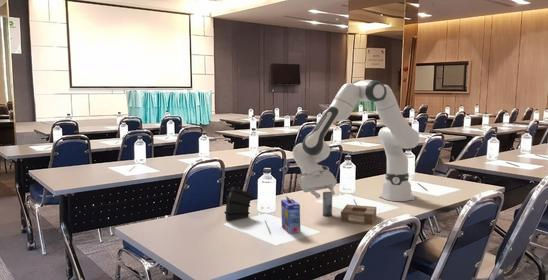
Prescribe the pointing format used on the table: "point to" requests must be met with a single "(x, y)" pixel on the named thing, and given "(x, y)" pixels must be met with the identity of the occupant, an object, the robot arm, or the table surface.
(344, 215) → the socket block
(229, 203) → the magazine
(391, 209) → the table surface
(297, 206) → the ink cartridge box
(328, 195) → the barrel peg
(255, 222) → the table surface
